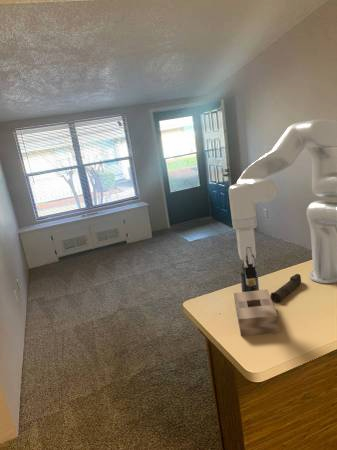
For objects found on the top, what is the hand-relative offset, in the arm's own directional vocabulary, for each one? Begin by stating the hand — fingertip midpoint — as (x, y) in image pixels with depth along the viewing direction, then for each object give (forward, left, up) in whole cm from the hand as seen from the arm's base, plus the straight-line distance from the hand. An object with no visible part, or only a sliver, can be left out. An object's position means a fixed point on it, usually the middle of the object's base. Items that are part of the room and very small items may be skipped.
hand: (250, 275), depth 109 cm
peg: (0, 0, -3) cm, 3 cm away
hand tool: (-15, -17, -17) cm, 28 cm away
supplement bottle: (-1, -20, -17) cm, 26 cm away
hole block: (0, 0, -16) cm, 16 cm away
